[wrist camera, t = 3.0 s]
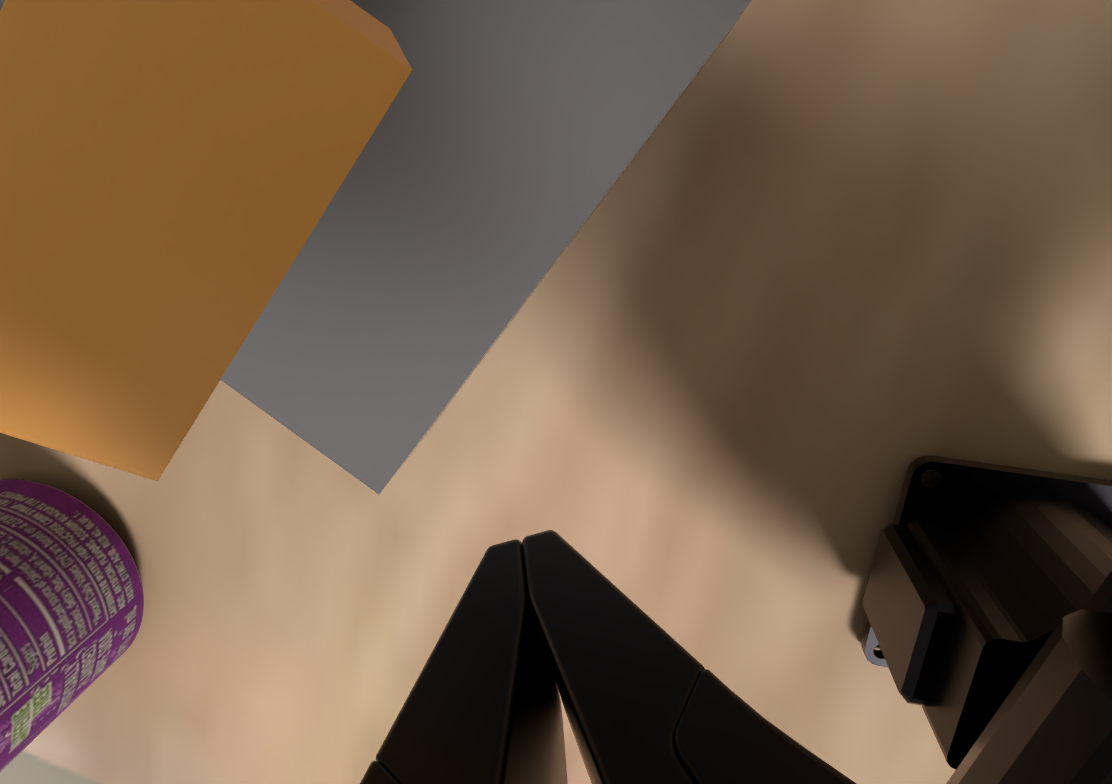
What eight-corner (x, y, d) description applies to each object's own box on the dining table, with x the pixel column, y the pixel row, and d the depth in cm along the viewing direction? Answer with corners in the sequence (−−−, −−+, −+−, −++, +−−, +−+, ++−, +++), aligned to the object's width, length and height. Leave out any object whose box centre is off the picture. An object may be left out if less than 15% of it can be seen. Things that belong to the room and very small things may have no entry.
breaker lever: (343, -58, 16) (412, 69, 8) (209, 182, 18) (157, 481, 10) (185, -177, 15) (72, -166, 6) (56, 102, 17) (-156, 385, 8)
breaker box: (736, 22, 19) (761, -15, 14) (418, 443, 23) (356, 523, 19) (248, -384, 18) (93, -576, 13) (11, 143, 22) (-169, 147, 17)
